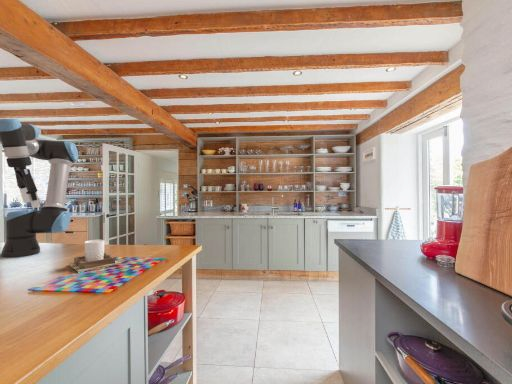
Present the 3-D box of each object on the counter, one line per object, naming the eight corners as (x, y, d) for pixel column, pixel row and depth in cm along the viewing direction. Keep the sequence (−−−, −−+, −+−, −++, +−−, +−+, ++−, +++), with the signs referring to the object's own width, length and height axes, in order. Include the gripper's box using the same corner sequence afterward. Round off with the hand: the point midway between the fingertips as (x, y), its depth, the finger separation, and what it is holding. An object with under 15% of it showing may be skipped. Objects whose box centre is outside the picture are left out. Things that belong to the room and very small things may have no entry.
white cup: (80, 264, 116) (80, 241, 116) (98, 259, 123) (98, 239, 123) (90, 266, 112) (90, 243, 112) (108, 262, 119) (108, 240, 119)
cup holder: (69, 265, 117) (69, 257, 117) (108, 258, 129) (108, 251, 129) (78, 273, 106) (78, 264, 106) (119, 265, 118) (119, 257, 118)
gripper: (-1, 156, 112) (14, 202, 118) (13, 160, 98) (28, 212, 104) (21, 154, 118) (34, 197, 124) (37, 157, 103) (51, 207, 109)
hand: (31, 204), depth 114 cm, fingers open, 13 cm apart
